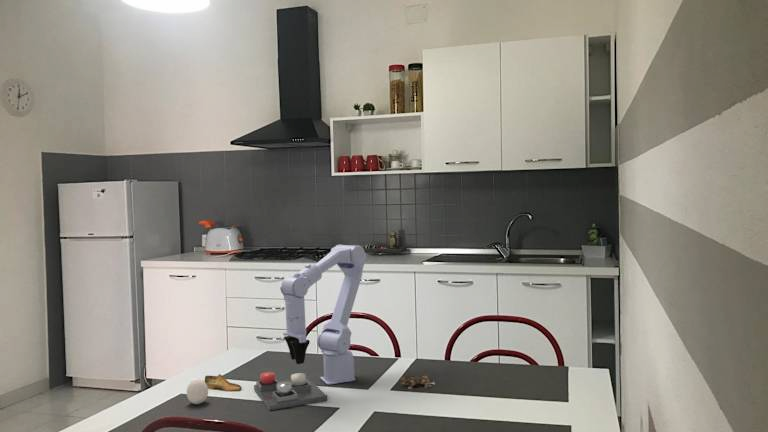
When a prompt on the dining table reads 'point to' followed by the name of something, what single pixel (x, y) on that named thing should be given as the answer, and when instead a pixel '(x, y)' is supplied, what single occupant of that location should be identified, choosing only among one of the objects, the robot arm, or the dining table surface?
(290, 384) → the steel button
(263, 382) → the red button
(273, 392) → the slate panel
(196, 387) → the egg
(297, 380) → the ivory button
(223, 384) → the shoe last
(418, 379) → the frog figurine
